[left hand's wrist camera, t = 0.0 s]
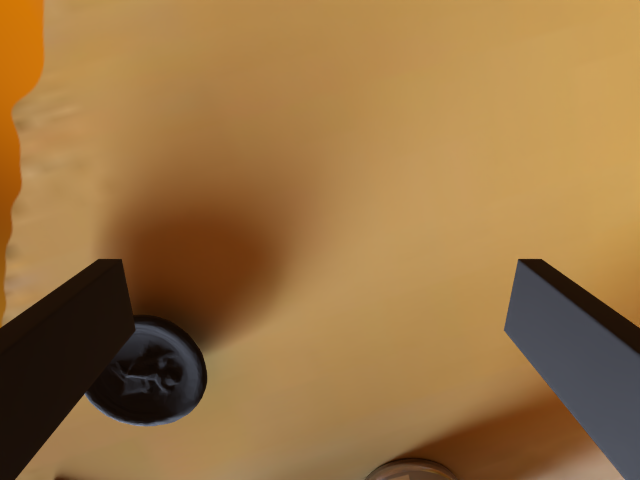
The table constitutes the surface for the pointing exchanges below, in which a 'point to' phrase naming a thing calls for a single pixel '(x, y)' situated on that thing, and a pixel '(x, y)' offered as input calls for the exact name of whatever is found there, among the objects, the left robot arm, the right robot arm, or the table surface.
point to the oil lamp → (151, 376)
